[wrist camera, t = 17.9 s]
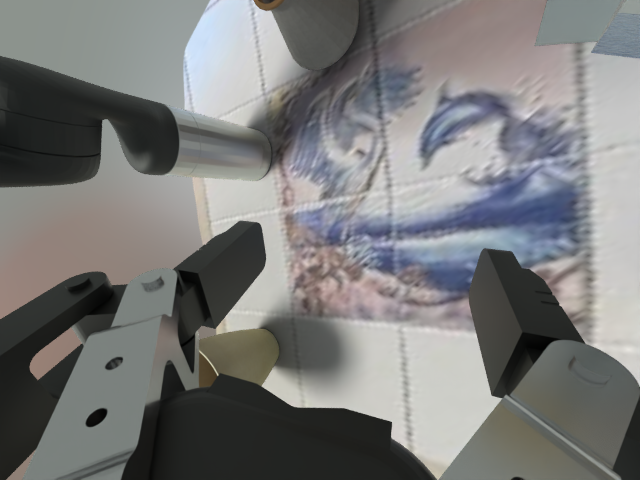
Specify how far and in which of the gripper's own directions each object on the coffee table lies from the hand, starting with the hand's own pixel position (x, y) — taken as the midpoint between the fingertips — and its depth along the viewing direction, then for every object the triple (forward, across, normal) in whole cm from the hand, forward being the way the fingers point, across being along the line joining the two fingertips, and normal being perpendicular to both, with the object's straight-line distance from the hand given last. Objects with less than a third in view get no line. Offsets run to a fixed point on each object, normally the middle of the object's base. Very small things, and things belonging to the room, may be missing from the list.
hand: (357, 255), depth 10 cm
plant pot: (+25, +22, +41) cm, 52 cm away
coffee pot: (+42, +15, -14) cm, 47 cm away
